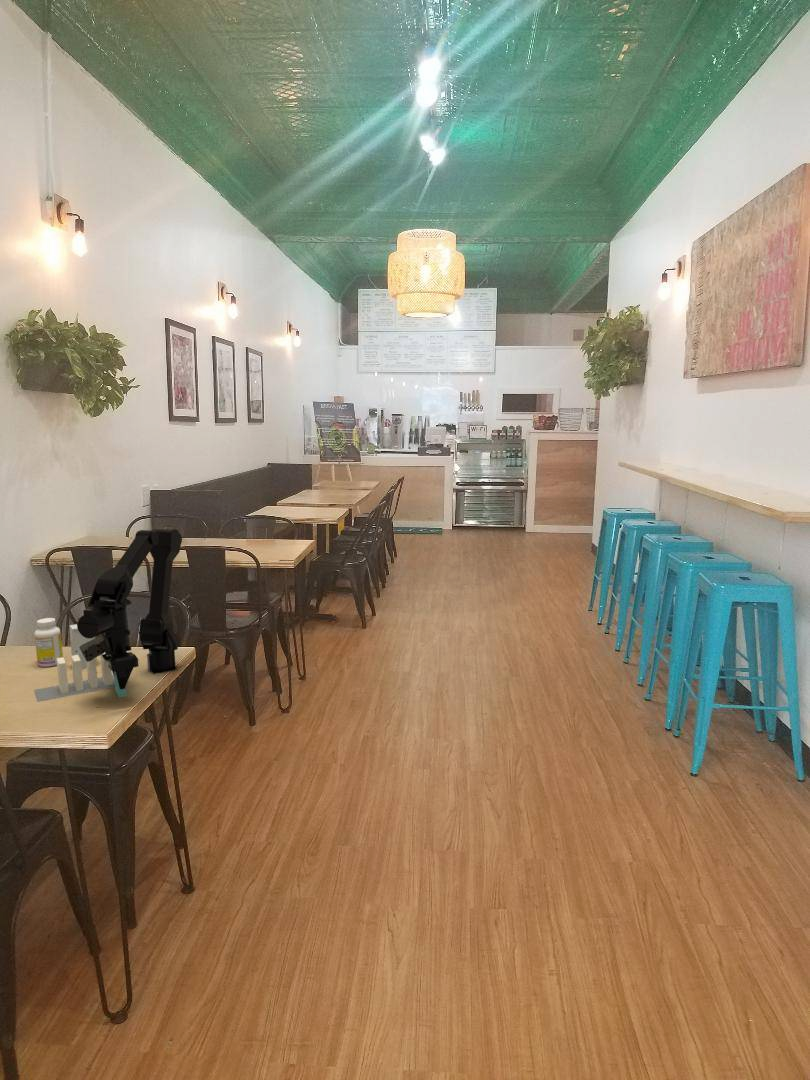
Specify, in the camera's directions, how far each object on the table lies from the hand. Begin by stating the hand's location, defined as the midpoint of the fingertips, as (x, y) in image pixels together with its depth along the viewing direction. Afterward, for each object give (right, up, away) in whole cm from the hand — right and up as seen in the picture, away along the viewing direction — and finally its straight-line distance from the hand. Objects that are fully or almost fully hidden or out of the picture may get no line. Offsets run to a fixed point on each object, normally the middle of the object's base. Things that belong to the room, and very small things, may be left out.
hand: (120, 685), depth 182 cm
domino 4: (-7, -1, +8) cm, 10 cm away
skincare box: (-18, +1, +21) cm, 28 cm away
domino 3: (-10, -1, +6) cm, 11 cm away
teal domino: (0, -3, 0) cm, 3 cm away
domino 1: (-16, -2, +3) cm, 16 cm away
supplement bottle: (-29, +1, +23) cm, 37 cm away
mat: (-13, -2, +4) cm, 13 cm away
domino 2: (-13, -1, +4) cm, 13 cm away
